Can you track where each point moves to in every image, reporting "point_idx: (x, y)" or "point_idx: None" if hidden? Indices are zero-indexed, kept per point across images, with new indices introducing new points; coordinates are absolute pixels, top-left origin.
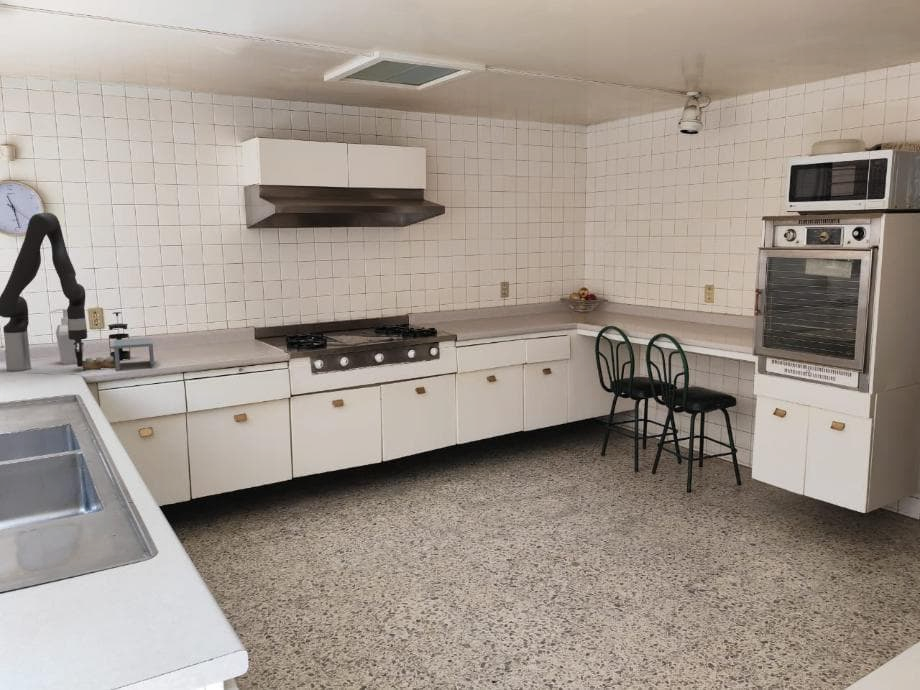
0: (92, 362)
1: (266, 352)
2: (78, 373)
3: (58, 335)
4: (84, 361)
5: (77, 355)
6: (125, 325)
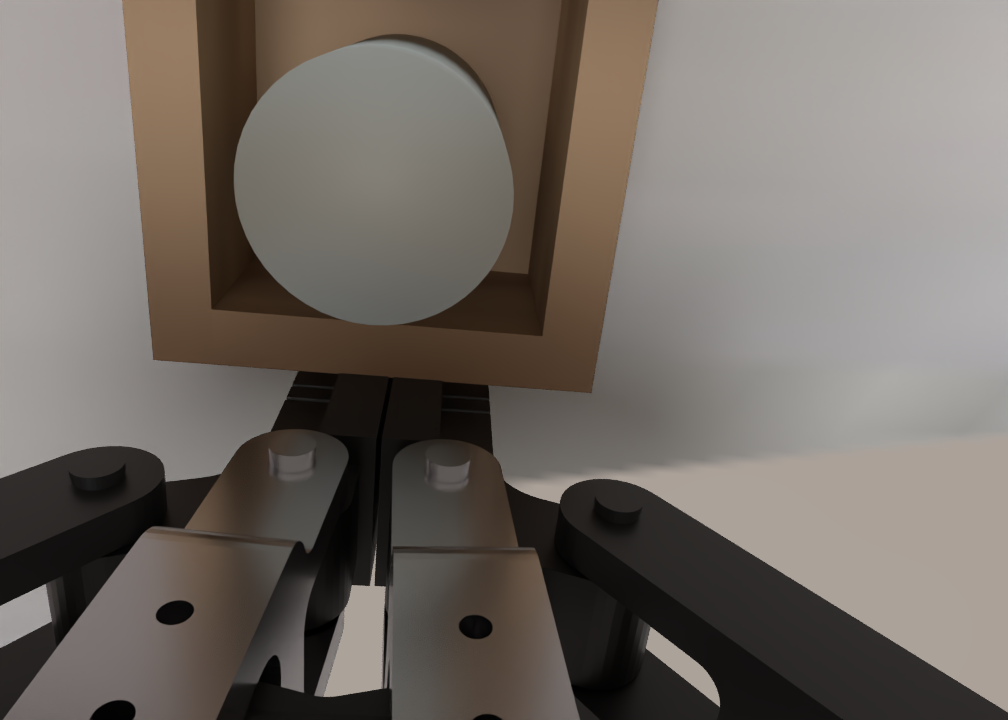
0: (639, 87)
1: None
2: (871, 401)
3: None
4: (329, 324)
5: (635, 675)
6: None
